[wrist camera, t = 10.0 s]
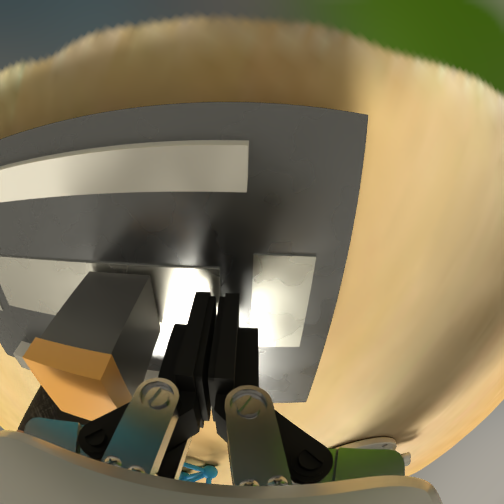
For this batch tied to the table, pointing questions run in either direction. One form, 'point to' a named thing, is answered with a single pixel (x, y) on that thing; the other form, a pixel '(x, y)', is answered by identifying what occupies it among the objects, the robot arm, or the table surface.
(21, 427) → the travel mug
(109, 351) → the switch handle
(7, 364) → the table surface
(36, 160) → the switch panel
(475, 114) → the table surface
